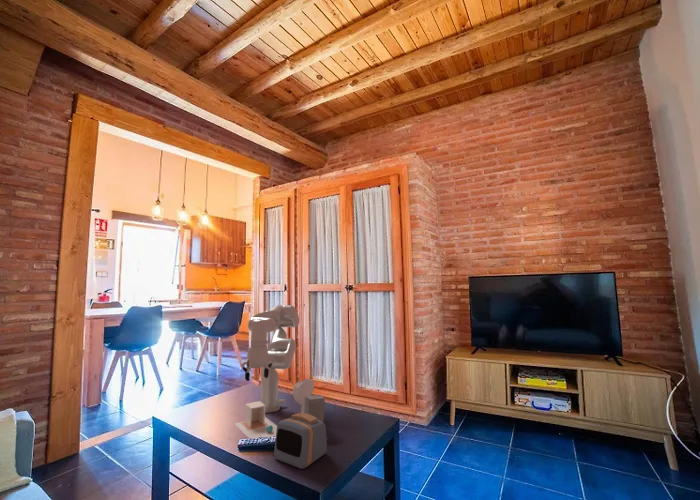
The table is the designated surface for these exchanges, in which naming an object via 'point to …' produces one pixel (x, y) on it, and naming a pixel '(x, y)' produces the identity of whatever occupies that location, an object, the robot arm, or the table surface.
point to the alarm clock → (300, 440)
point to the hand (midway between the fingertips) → (256, 378)
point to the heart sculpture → (303, 391)
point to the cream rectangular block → (254, 413)
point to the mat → (257, 429)
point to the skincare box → (315, 406)
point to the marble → (269, 428)
